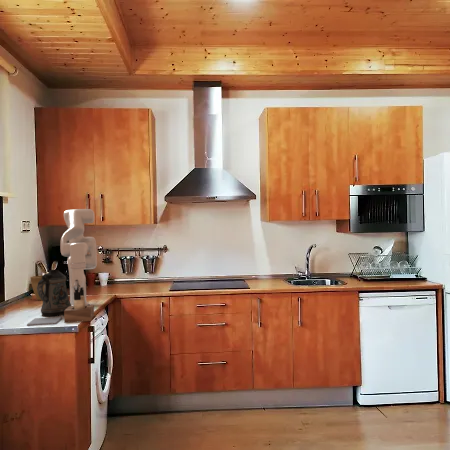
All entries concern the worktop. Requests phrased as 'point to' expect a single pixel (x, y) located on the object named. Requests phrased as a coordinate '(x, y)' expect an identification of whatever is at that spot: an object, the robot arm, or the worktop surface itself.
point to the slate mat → (44, 321)
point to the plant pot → (34, 284)
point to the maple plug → (79, 303)
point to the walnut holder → (79, 314)
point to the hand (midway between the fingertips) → (79, 298)
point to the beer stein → (53, 294)
